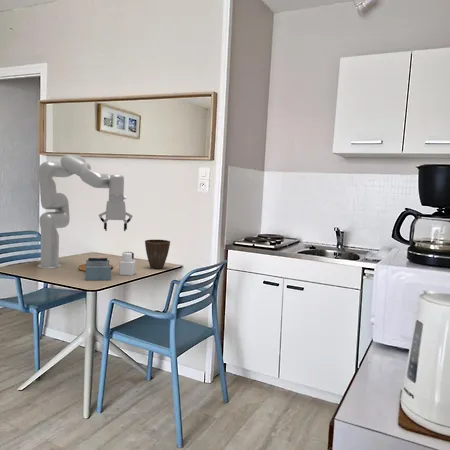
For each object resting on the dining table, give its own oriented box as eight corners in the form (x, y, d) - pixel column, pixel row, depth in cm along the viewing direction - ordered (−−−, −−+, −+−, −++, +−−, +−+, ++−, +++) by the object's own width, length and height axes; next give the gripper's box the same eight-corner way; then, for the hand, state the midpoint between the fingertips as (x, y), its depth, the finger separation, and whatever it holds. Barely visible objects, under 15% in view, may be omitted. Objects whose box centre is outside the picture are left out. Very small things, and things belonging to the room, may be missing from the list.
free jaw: (86, 268, 232) (86, 257, 232) (108, 268, 236) (109, 257, 235) (86, 269, 229) (86, 258, 228) (109, 269, 233) (109, 258, 232)
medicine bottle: (122, 272, 235) (123, 250, 234) (135, 273, 235) (136, 251, 234) (119, 275, 228) (119, 252, 227) (132, 275, 228) (133, 253, 227)
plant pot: (157, 271, 244) (158, 243, 242) (138, 267, 252) (139, 240, 250) (174, 267, 256) (175, 241, 255) (155, 264, 264) (156, 238, 263)
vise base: (86, 270, 235) (86, 258, 235) (108, 270, 239) (108, 258, 238) (85, 280, 211) (85, 267, 211) (110, 280, 215) (110, 267, 214)
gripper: (132, 198, 229) (131, 230, 231) (99, 197, 225) (98, 229, 226) (133, 199, 222) (132, 231, 224) (98, 198, 217) (98, 231, 219)
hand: (115, 230), depth 225 cm, fingers open, 9 cm apart
